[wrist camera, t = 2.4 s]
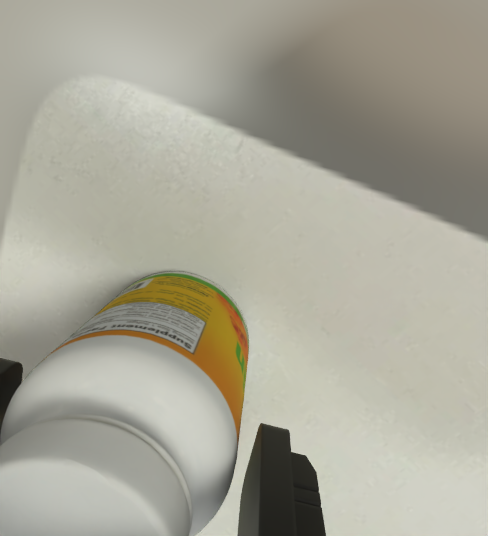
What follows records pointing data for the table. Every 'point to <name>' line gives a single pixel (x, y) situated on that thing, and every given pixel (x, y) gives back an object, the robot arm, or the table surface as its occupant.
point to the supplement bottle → (130, 418)
